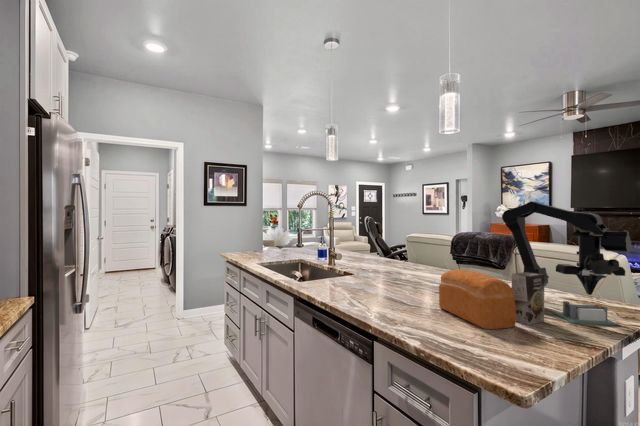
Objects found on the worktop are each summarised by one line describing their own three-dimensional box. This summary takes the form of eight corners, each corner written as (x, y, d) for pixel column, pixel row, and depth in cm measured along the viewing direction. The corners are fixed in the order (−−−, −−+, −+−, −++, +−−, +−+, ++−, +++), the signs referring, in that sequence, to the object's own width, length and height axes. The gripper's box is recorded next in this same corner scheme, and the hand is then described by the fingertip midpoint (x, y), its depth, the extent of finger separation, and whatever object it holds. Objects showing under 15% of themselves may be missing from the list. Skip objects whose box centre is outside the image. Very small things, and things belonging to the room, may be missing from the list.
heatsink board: (571, 323, 110) (572, 307, 110) (555, 313, 120) (555, 299, 119) (615, 325, 108) (615, 308, 108) (594, 315, 118) (594, 300, 118)
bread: (466, 305, 131) (466, 265, 131) (520, 327, 105) (520, 279, 105) (435, 307, 128) (435, 267, 128) (483, 331, 102) (483, 280, 102)
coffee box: (529, 325, 107) (529, 276, 107) (510, 319, 113) (510, 273, 113) (545, 321, 111) (545, 274, 111) (526, 316, 117) (526, 271, 117)
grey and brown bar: (570, 309, 113) (569, 304, 113) (566, 307, 116) (565, 302, 116) (602, 309, 112) (602, 304, 112) (597, 307, 114) (597, 302, 114)
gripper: (574, 251, 107) (574, 299, 107) (638, 252, 104) (638, 302, 104) (554, 248, 118) (554, 291, 118) (613, 249, 115) (612, 293, 115)
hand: (589, 294), depth 113 cm, fingers closed
